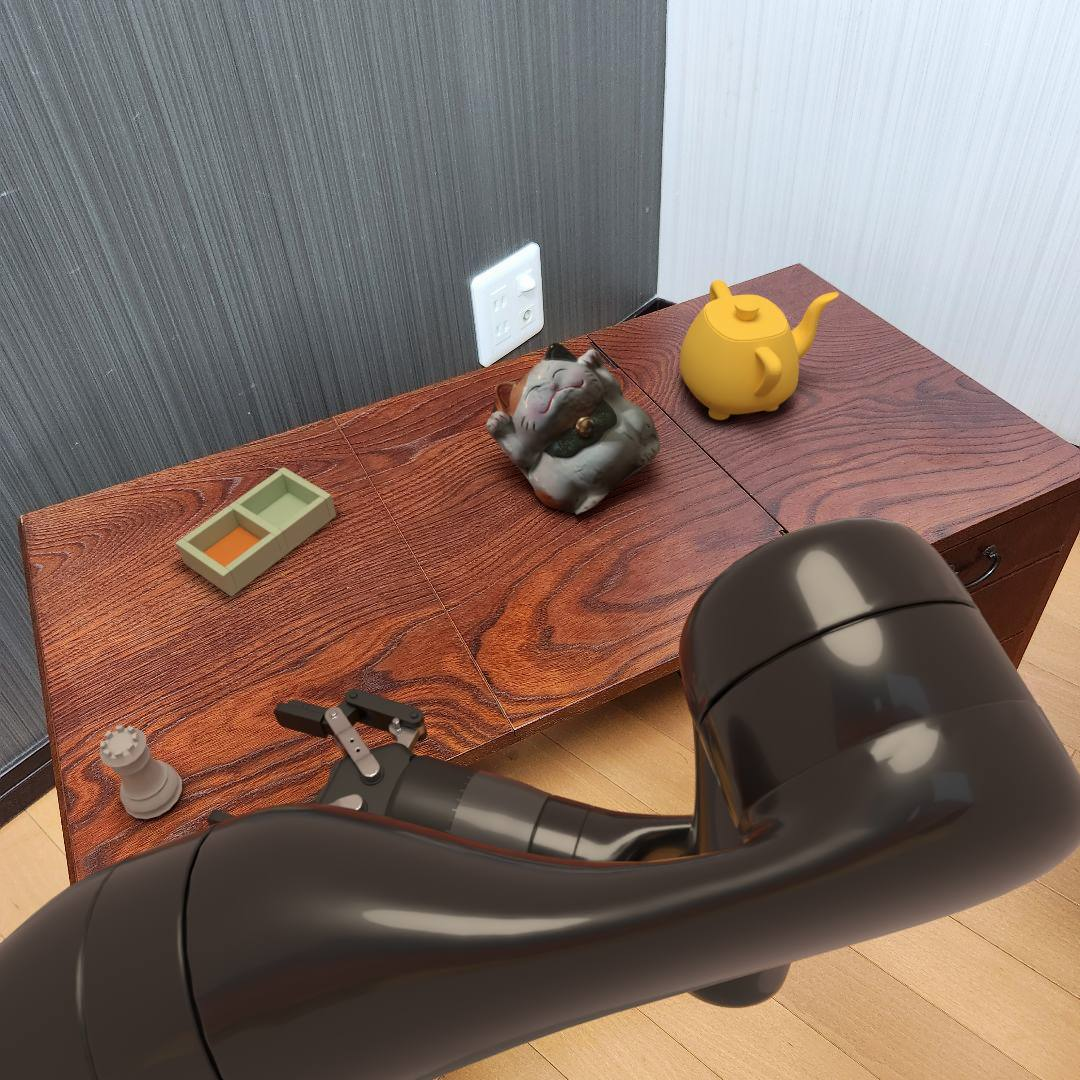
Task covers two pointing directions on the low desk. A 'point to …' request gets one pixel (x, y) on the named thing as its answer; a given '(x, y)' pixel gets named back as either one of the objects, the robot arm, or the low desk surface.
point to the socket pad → (256, 530)
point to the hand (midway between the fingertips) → (246, 765)
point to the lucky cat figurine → (571, 429)
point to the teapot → (745, 352)
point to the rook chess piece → (140, 773)
